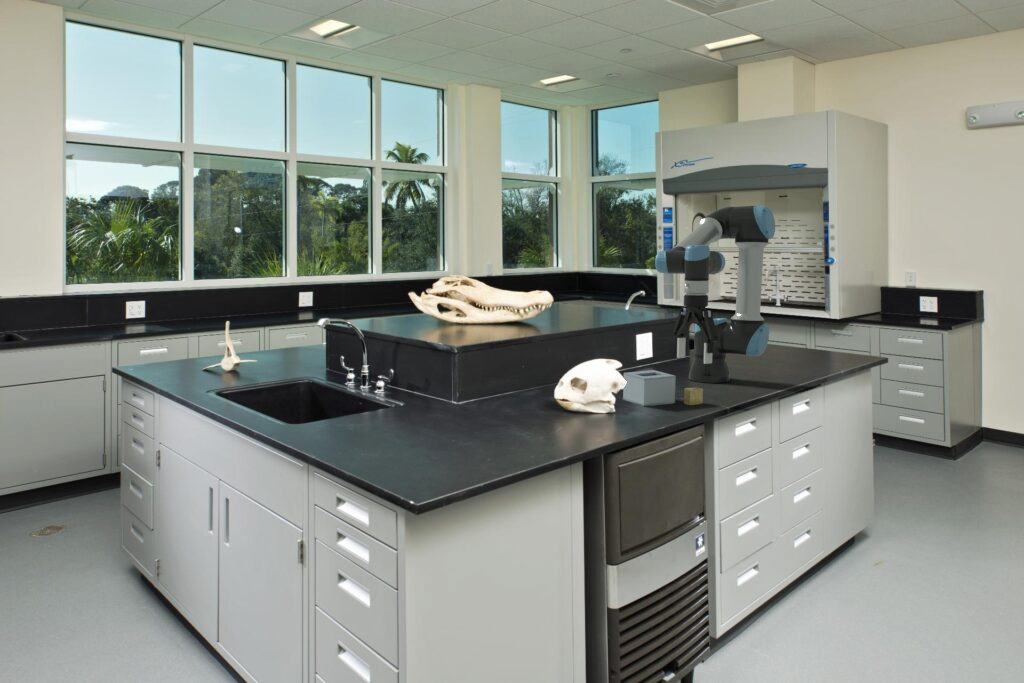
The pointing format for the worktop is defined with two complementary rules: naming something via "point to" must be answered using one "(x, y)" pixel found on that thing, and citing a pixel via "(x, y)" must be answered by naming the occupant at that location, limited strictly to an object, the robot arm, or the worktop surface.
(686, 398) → the block
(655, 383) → the grey square hollow box
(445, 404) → the worktop surface
